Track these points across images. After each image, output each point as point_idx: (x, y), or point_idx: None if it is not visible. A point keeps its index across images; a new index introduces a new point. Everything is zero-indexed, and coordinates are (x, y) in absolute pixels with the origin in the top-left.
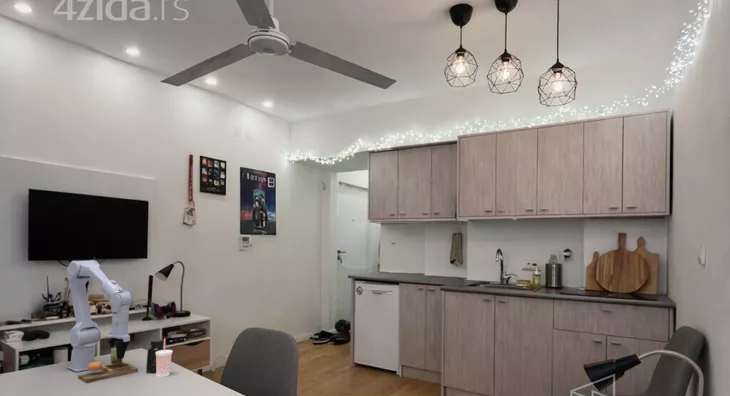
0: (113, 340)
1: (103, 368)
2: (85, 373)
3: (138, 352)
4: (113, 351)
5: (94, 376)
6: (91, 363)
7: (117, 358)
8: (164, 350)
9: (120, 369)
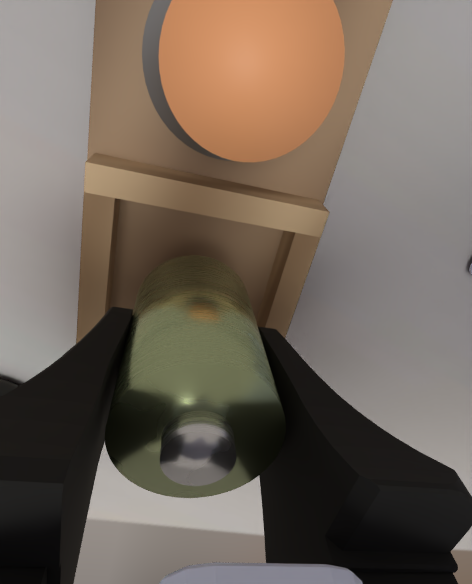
0: (327, 530)
1: (267, 197)
2: (373, 47)
3: (467, 533)
4: (159, 339)
5: (152, 3)
6: (274, 5)
7: (119, 310)
8: None
9: (83, 260)
